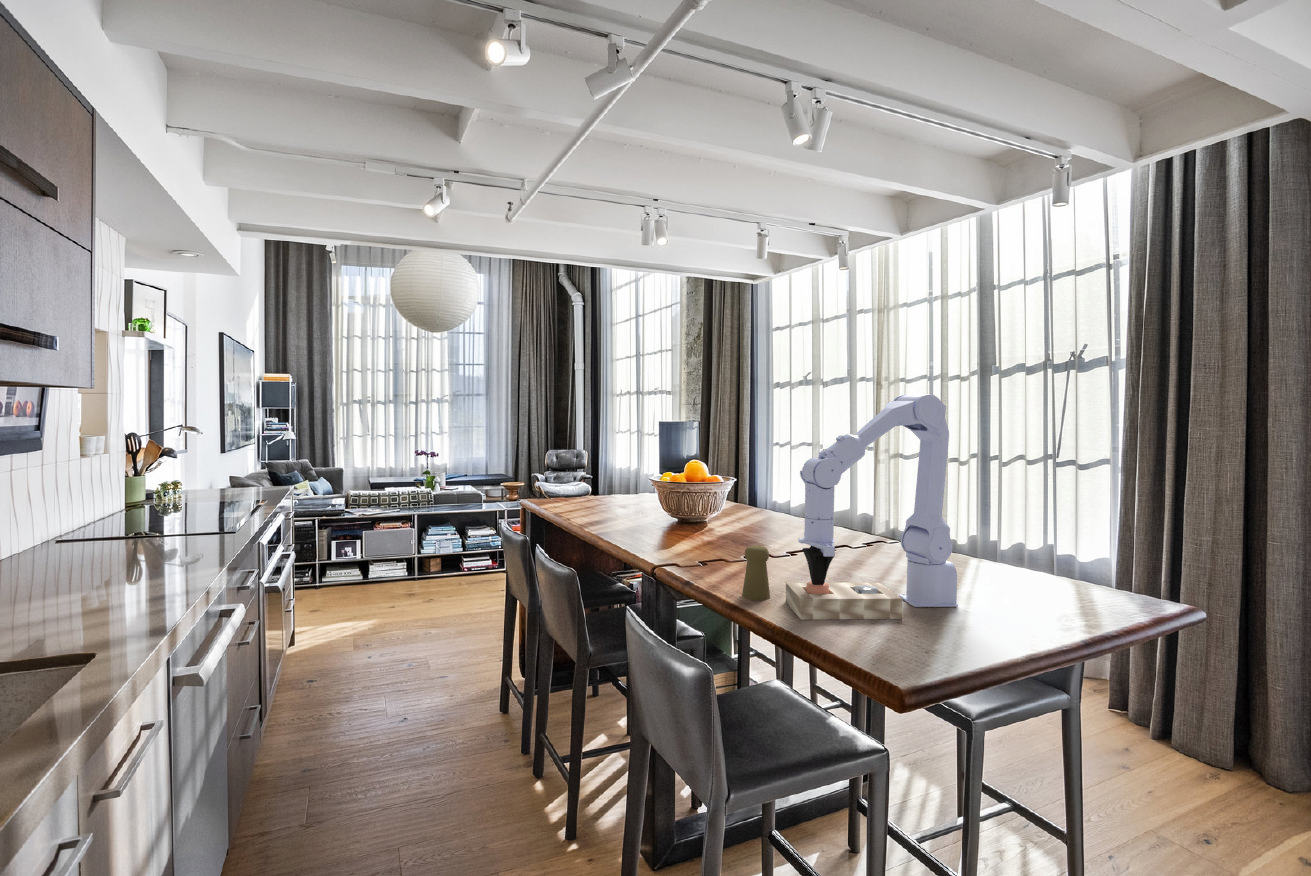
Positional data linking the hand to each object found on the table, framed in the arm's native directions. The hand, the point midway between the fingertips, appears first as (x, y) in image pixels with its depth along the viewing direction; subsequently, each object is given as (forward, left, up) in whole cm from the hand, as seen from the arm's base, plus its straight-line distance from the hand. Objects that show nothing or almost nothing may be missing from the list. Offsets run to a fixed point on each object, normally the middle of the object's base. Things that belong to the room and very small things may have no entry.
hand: (817, 584), depth 136 cm
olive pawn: (+10, -10, -6) cm, 16 cm away
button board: (-5, 0, -5) cm, 7 cm away
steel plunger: (-10, 0, -5) cm, 11 cm away
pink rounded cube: (0, 0, -4) cm, 4 cm away
